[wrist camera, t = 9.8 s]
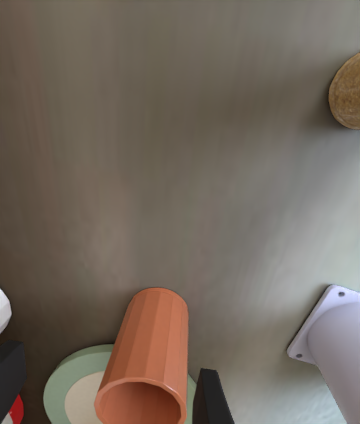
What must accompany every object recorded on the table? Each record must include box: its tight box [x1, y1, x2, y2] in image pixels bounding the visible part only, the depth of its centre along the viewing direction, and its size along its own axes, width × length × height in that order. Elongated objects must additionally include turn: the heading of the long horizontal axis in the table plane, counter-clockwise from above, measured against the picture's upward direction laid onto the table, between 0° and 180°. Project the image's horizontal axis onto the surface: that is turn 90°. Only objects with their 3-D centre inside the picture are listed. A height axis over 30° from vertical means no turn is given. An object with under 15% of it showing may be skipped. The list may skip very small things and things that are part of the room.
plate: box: [43, 344, 197, 424], centre depth 25 cm, size 16×16×1 cm
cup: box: [94, 287, 189, 424], centre depth 18 cm, size 5×5×8 cm
